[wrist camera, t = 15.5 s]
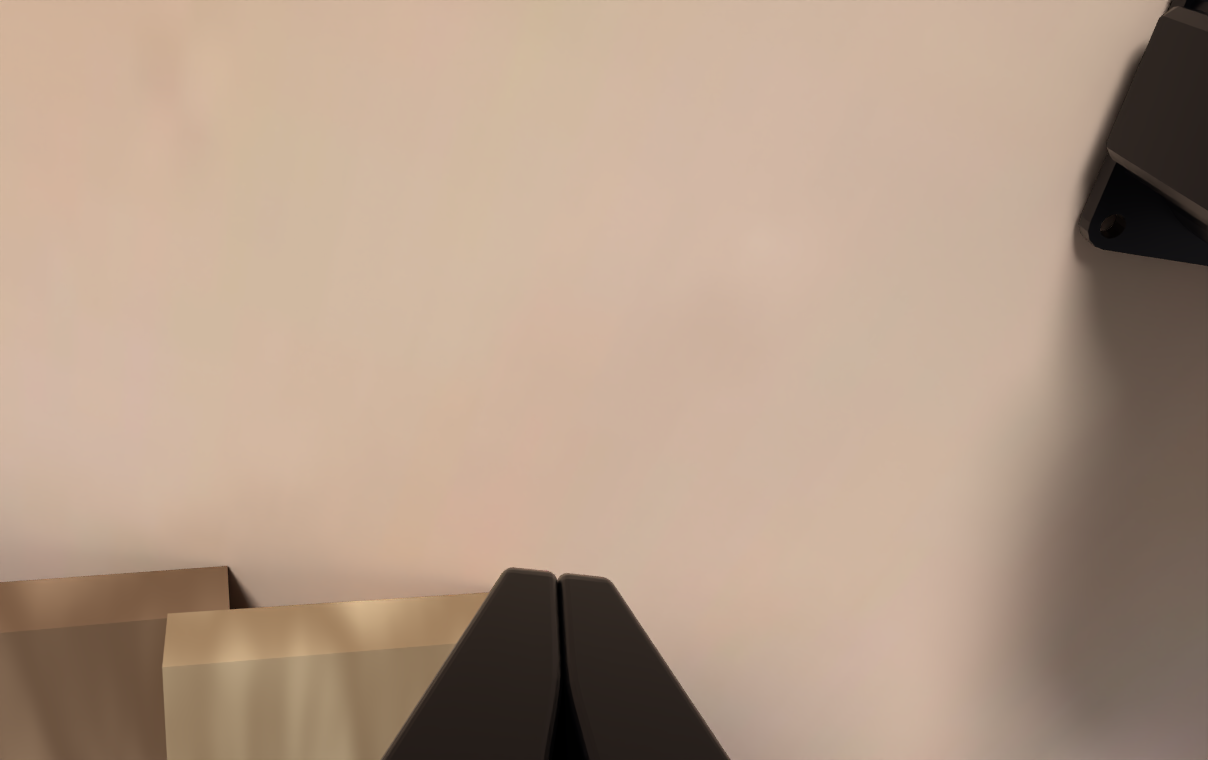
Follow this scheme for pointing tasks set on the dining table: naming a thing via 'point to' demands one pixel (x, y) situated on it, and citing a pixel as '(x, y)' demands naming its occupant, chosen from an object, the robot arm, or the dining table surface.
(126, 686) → the domino
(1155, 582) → the dining table surface
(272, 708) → the domino
